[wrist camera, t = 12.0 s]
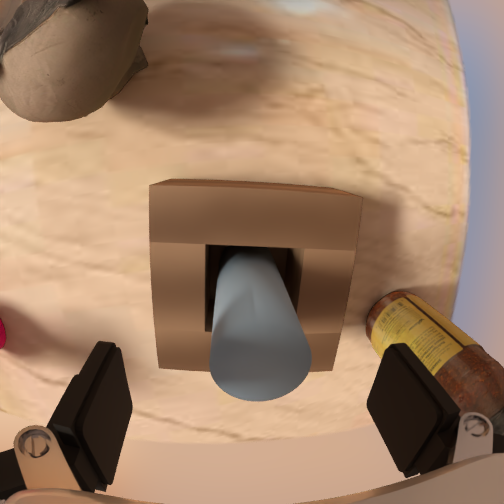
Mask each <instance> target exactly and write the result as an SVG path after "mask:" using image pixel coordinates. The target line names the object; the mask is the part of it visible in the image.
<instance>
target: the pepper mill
mask: <svg viewBox="0 0 504 504" xmlns="http://www.w3.org/2000/svg"><path fill="white" fill-rule="evenodd" d="M5 341H6V334H5V329H4V326H3V323H2V321H1V319H0V349H1V348H2V347H3V346H4V344H5Z"/></svg>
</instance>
